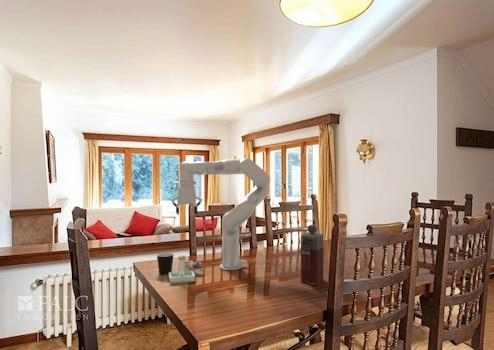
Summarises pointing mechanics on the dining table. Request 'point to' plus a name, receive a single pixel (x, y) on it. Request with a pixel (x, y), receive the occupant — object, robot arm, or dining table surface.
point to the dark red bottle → (312, 256)
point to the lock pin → (181, 265)
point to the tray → (176, 279)
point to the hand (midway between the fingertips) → (186, 214)
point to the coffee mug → (165, 263)
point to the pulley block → (194, 267)
